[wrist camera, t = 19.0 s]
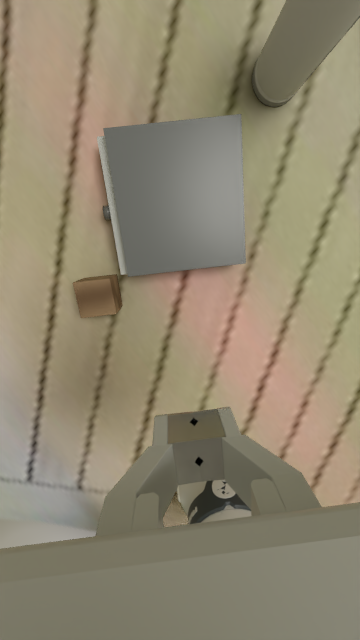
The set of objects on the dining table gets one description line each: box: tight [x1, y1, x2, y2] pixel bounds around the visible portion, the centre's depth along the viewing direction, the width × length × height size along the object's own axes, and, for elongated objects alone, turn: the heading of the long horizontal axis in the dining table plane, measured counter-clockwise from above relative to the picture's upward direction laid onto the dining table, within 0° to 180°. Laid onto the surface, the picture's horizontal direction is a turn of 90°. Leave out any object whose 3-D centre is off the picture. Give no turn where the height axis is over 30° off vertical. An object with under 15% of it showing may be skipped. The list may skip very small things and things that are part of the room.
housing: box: [103, 114, 246, 277], centre depth 34 cm, size 17×16×5 cm
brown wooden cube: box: [73, 274, 122, 318], centre depth 37 cm, size 5×5×5 cm
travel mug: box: [252, 0, 360, 107], centre depth 23 cm, size 6×7×20 cm
